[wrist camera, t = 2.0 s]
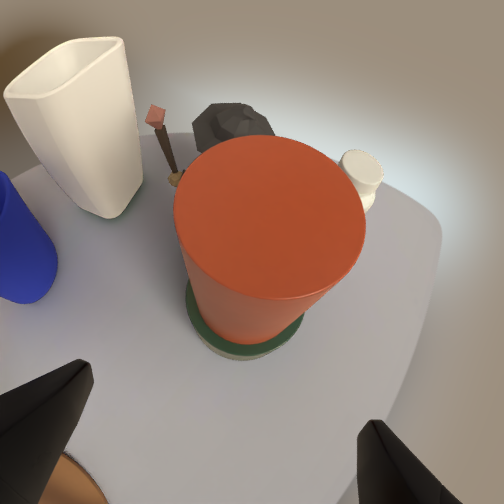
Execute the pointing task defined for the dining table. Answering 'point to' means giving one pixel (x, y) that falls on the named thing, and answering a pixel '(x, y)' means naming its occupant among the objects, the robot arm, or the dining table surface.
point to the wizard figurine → (211, 129)
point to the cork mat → (71, 485)
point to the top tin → (265, 233)
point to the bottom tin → (230, 348)
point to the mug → (23, 250)
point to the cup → (82, 121)
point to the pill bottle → (362, 174)
